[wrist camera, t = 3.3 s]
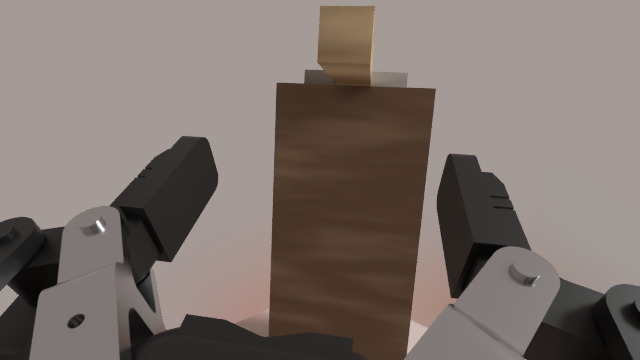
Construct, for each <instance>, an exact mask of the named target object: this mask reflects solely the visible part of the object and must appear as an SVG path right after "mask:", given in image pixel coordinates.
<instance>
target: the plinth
mask: <svg viewBox="0 0 640 360" xmlns="http://www.w3.org/2000/svg"><path fill="white" fill-rule="evenodd" d="M435 91H436V89H429V88H403V87H376V86H350V85H324V84H296V83H277V91H276V123H275V124H276V125H275V154H274V188H273V218H272V250H271V282H270V283H271V284H270V313H269V337H273V336H282V335H291V334H299V333H308V332H312V333H319V334H326V335H333V336H339V337H346V338H353V350H352V351H353V352H356V353H358V354H360V355H362V356H364V357H365V358H367V359H369V360H404V358H405V357H406V355H407V346H408V337H409V328H410V319H411V310H412V300H413V291H414V281H415V273H416V263H417V255H418V245H419V236H420V228H421V219H422V209H423V200H424V191H425V182H426V173H427V164H428V155H429V146H430V137H431V128H432V118H433V109H434V100H435Z"/></svg>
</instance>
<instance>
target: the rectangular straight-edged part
mask: <svg viewBox="0 0 640 360" xmlns="http://www.w3.org/2000/svg"><path fill="white" fill-rule="evenodd" d="M374 15H375V6H320V22H319V23H320V24H319V42H318V61H317V62H318V64H319V65H320V66H321V67H322V68H323V70H305V82H304V84H324V85H350V86H376V87H403V88H406V86H407V77H408V73H393V72H392V73H391V72H372V67H373V54H374V17H375V16H374Z"/></svg>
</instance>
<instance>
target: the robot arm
mask: <svg viewBox="0 0 640 360" xmlns="http://www.w3.org/2000/svg"><path fill="white" fill-rule="evenodd" d="M145 168H146V169H143V171H142V172H141V173H140V174H139V175H138V178H135V179H134V180H133V181H132V182H131V183H130V184H129V185H128V186H127V188H126V189H125V190H124V191H123V192H122V193H121V194H120V195H119V196H118V197H117V198H116V199H115V201H113V203H112V204H111V205H110V206H100V207H95V208H92V209H89V210H86V211H84V212H82V213H80V214H79V215H77V216H75V217H74V218H73V219H72V220H71V221H70V222H68V224H67V225H66V226H65V227H58V228H51V229H45V230H41V229H40V228H39V227H38V225H36V223H35V222H34V221H33V220H32V219H30V218H27V217H18V218H12V219H9V220H5V221H3V222H0V291H1V290H2V289H3V288H4V286H6V284H7V285H8V286H9V287H10V288H11V289H13V290H14V291H15V292H16V293H17V294H18V295H19V296H18V297H17V298H16V300H15V301H14V302H13V303H12V304H11V305H10V306H9V308H8V309H7V310H6V311H5V312H4V313H3V314H2V315H1V317H0V360H369V359H367V358H365V357H364V356H362V355H360V354H358V353H356V352H353V351H352V350H353V338H346V337H339V336H333V335H326V334H319V333H312V332H308V333H299V334H291V335H282V336H273V337H262V336H259V335H257V334H255V333H252V332H250V331H248V330H246V329H244V328H242V327H240V326H237V325H235V324H233V323H231V322H229V321H227V320H223V319H216V318H208V317H202V316H195V315H188V314H186V316H185V318H184V320H183V322H182V325H181V327H179V328H174V329H170V330H166V329H165V327H164V324H163V321H162V316H161V310H160V304H159V298H158V292H157V285H156V280H155V274H154V271H153V269H152V266H153V264H154V263H155V261H156V260H157V261H165V262H172V260H173V258H174V257H175V255H176V254H177V252H178V250H179V249H180V247H181V245H182V244H183V242H184V240H185V239H186V237H187V236H188V234H189V232H190V231H191V229H192V227H193V226H194V224H195V223H196V221H197V219H198V218H199V216H200V214H201V213H202V211H203V210H204V208H205V206H206V205H207V203H208V201H209V200H210V198H211V196H212V195H213V193H214V191H215V190H216V187H217V184H218V172H217V169H216V165H215V162H214V158H213V155H212V151H211V148H210V145H209V142H208V140H207V139H206V138H204V137H189V136H182V137H181V138H180V139H179V140H178V141H177V142H176V143H175V144H174V145H173V147H172V148H171V149H168V150H166V151H165V152H163V153H161V154H160V155H158V156H156V157H155V158H154V159H153V160H152V161H151V162H150V163H149V164H148V165H147V166H146V167H145ZM437 213H438V218H439V225H440V231H441V238H442V244H443V250H444V257H445V262H446V269H447V275H448V282H449V287H450V294H451V298H457V299H458V300H457V301H456V302H455V303H454V304H453V305H452V304H449V305H448V306H447V307H446V308H445V309H444V310H443V311H442V312H441V314H440V315H439V316H438V317H437V319H436V320H435V321H434V322H433V324H432V325H431V326H430V327H429V328H428V330H427V331H426V332H425V333H424V335H423V336H422V337H421V338H420V340H419V341H418V342H417V343H416V345H415V346H414V347H413V348H412V350H411V351H410V352H409V353H408V355H407V356H406V357H405V358H404V360H524V358H525V359H527V360H640V287H639V286H634V285H628V284H622V285H621V284H620V285H616V286H614V287H612V288H610V289H609V290H608V291H607V292H606V293H605V294H602V293H599V292H597V291H594V290H591V289H588V288H585V287H583V286H580V285H576V284H574V283H571V282H569V281H566V280H563V279H562V278H560V277H559V276H558V273H557V272H556V270H555V269H554V267H553V266H552V265H551V264H550V263H549V262H548V261H547V260H545V259H544V258H543V257H542V256H540V255H538V254H537V253H535V252H533V251H531V248H530V246H529V244H528V241H527V239H526V237H525V234H524V232H523V229H522V227H521V224H520V222H519V220H518V217H517V215H516V212H515V211H514V210H513V205H512V203H511V201H510V200H509V195H508V193H507V191H506V189H505V186H504V184H503V183H502V182H501V181H500V180H499V179H498V178H497V177H496V176H495V175H494V174H493V173H488V172H487V173H486V172H481V169H480V166H479V163H478V160H477V158H476V156H475V155H462V154H449V155H448V157H447V160H446V163H445V167H444V170H443V174H442V178H441V182H440V186H439V190H438V194H437Z"/></svg>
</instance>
